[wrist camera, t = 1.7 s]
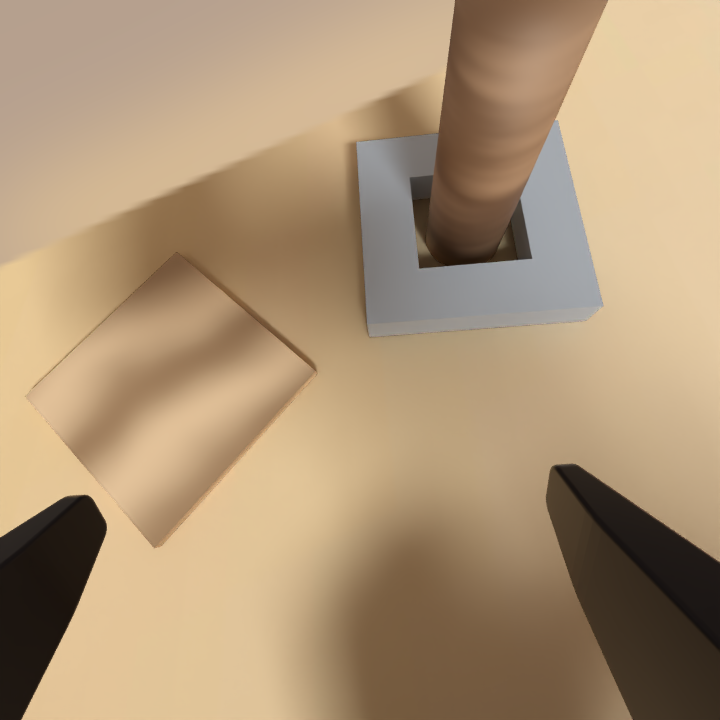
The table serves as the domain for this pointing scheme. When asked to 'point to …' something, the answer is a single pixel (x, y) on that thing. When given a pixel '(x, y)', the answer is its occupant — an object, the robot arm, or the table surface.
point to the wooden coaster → (169, 395)
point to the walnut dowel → (499, 114)
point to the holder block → (472, 281)
